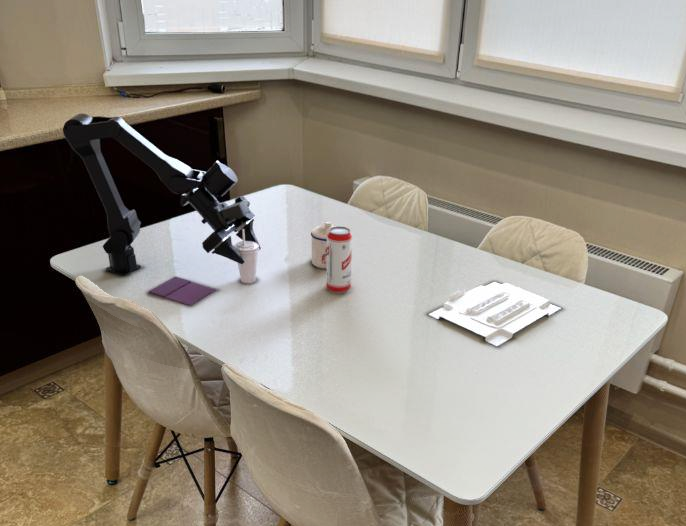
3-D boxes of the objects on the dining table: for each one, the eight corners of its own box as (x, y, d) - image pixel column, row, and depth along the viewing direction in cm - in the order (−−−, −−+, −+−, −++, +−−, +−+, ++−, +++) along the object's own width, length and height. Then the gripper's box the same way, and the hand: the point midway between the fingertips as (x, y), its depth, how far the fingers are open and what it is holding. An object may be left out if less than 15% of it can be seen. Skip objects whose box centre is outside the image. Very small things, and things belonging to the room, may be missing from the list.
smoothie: (236, 274, 183) (233, 224, 175) (261, 274, 183) (258, 224, 176) (234, 285, 177) (231, 234, 170) (260, 285, 178) (257, 234, 170)
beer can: (353, 286, 180) (356, 227, 171) (345, 296, 175) (347, 236, 166) (331, 282, 181) (332, 224, 173) (322, 292, 176) (323, 232, 168)
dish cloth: (148, 292, 172) (148, 291, 172) (175, 278, 180) (175, 276, 179) (190, 305, 167) (190, 303, 167) (215, 290, 175) (215, 288, 175)
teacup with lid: (322, 272, 186) (322, 231, 180) (304, 260, 192) (304, 220, 186) (358, 263, 192) (360, 223, 186) (340, 251, 198) (341, 212, 192)
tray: (561, 308, 174) (564, 294, 172) (497, 350, 157) (499, 336, 155) (494, 281, 186) (495, 268, 183) (427, 318, 169) (428, 305, 167)
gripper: (209, 200, 161) (254, 252, 164) (245, 178, 176) (286, 226, 179) (183, 227, 167) (227, 277, 170) (220, 203, 182) (260, 249, 185)
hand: (251, 256), depth 176 cm, fingers open, 9 cm apart
